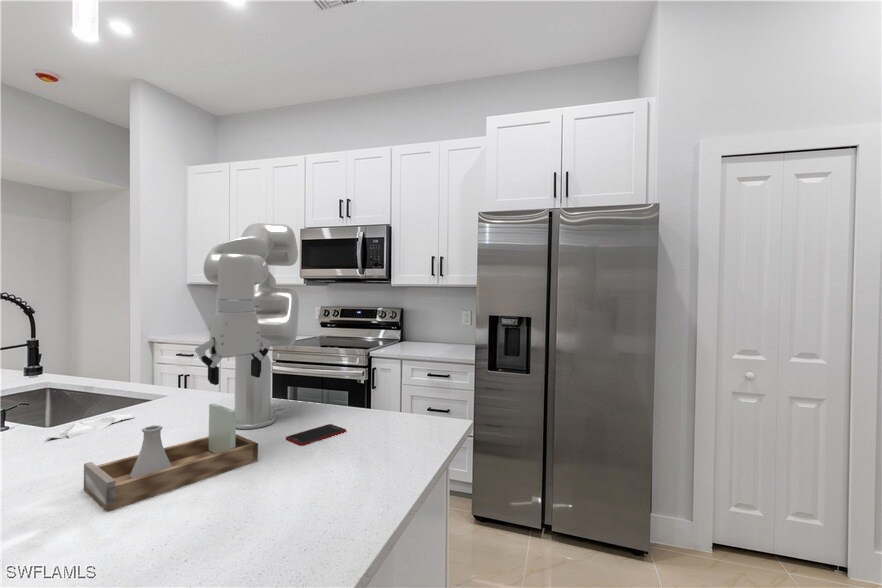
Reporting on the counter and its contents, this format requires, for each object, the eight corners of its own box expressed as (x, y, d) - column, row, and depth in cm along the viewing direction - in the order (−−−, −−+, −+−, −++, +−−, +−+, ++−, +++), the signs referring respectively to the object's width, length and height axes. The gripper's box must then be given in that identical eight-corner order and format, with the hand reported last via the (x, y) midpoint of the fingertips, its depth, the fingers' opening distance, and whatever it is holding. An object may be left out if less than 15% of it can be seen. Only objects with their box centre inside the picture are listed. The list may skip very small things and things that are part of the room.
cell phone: (347, 433, 117) (347, 429, 117) (301, 448, 105) (301, 444, 105) (330, 426, 122) (330, 423, 122) (283, 440, 110) (284, 436, 110)
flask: (150, 487, 80) (151, 435, 80) (119, 483, 82) (120, 431, 82) (181, 471, 87) (182, 423, 87) (152, 467, 89) (153, 420, 89)
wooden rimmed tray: (228, 447, 104) (228, 427, 104) (257, 460, 96) (258, 438, 96) (83, 489, 81) (83, 463, 81) (106, 511, 73) (107, 482, 73)
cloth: (130, 412, 132) (130, 405, 132) (158, 419, 127) (158, 411, 126) (20, 438, 108) (20, 429, 108) (48, 448, 103) (48, 438, 103)
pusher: (212, 448, 99) (213, 403, 99) (235, 459, 93) (235, 411, 93) (208, 450, 98) (209, 404, 98) (230, 461, 92) (231, 411, 92)
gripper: (263, 304, 107) (262, 371, 108) (189, 307, 93) (188, 383, 94) (279, 306, 102) (278, 376, 103) (203, 309, 89) (203, 390, 89)
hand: (235, 380), depth 99 cm, fingers open, 9 cm apart
